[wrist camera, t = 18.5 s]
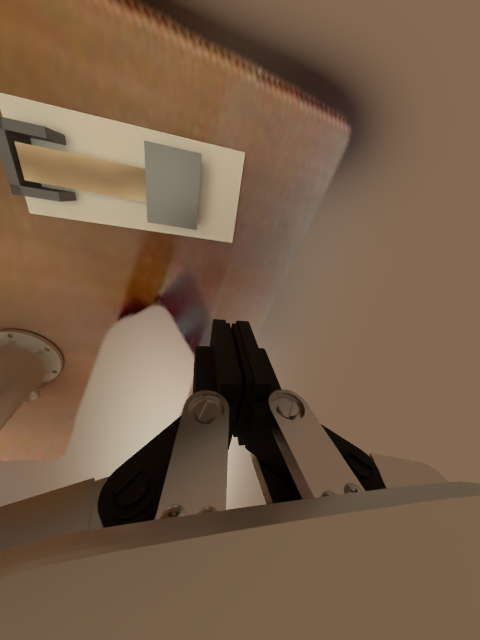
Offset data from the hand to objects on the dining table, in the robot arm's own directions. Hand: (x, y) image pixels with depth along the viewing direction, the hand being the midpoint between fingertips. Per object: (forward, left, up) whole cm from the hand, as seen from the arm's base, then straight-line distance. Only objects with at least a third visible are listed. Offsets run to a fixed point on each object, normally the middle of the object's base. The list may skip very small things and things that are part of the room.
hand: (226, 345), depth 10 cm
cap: (+6, +5, -28) cm, 29 cm away
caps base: (+6, +10, -29) cm, 31 cm away
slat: (+6, +13, -28) cm, 32 cm away
